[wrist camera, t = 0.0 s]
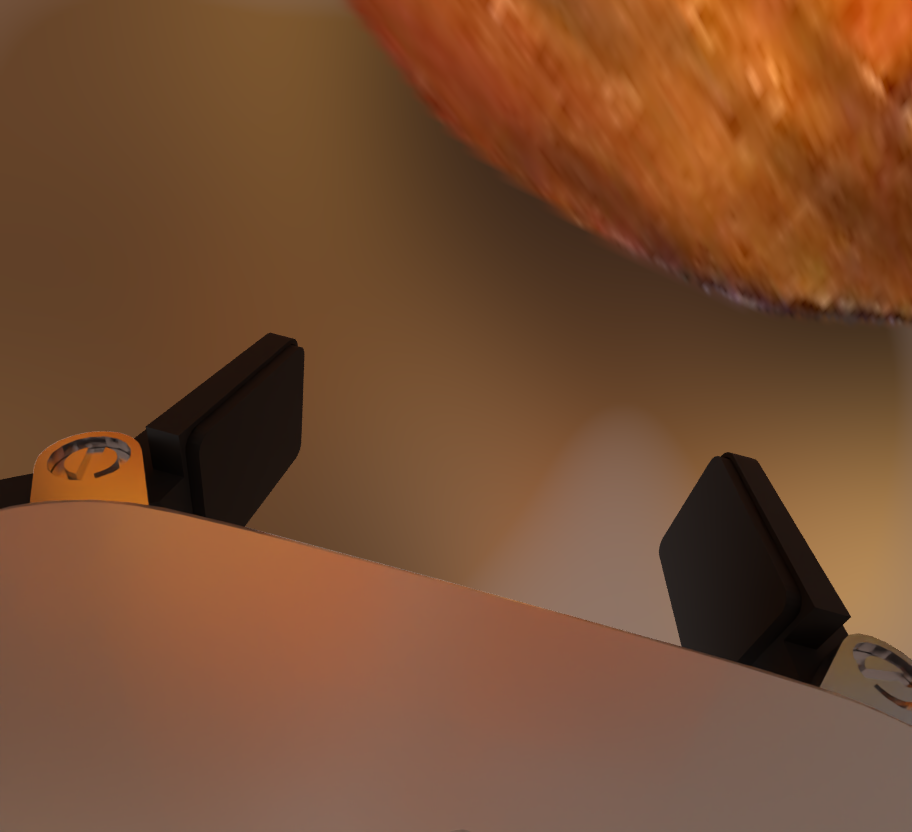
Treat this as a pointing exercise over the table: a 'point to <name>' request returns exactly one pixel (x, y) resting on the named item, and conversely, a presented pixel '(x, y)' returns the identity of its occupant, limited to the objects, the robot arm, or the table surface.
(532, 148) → the table surface
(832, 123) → the table surface
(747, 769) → the robot arm
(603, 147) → the table surface
